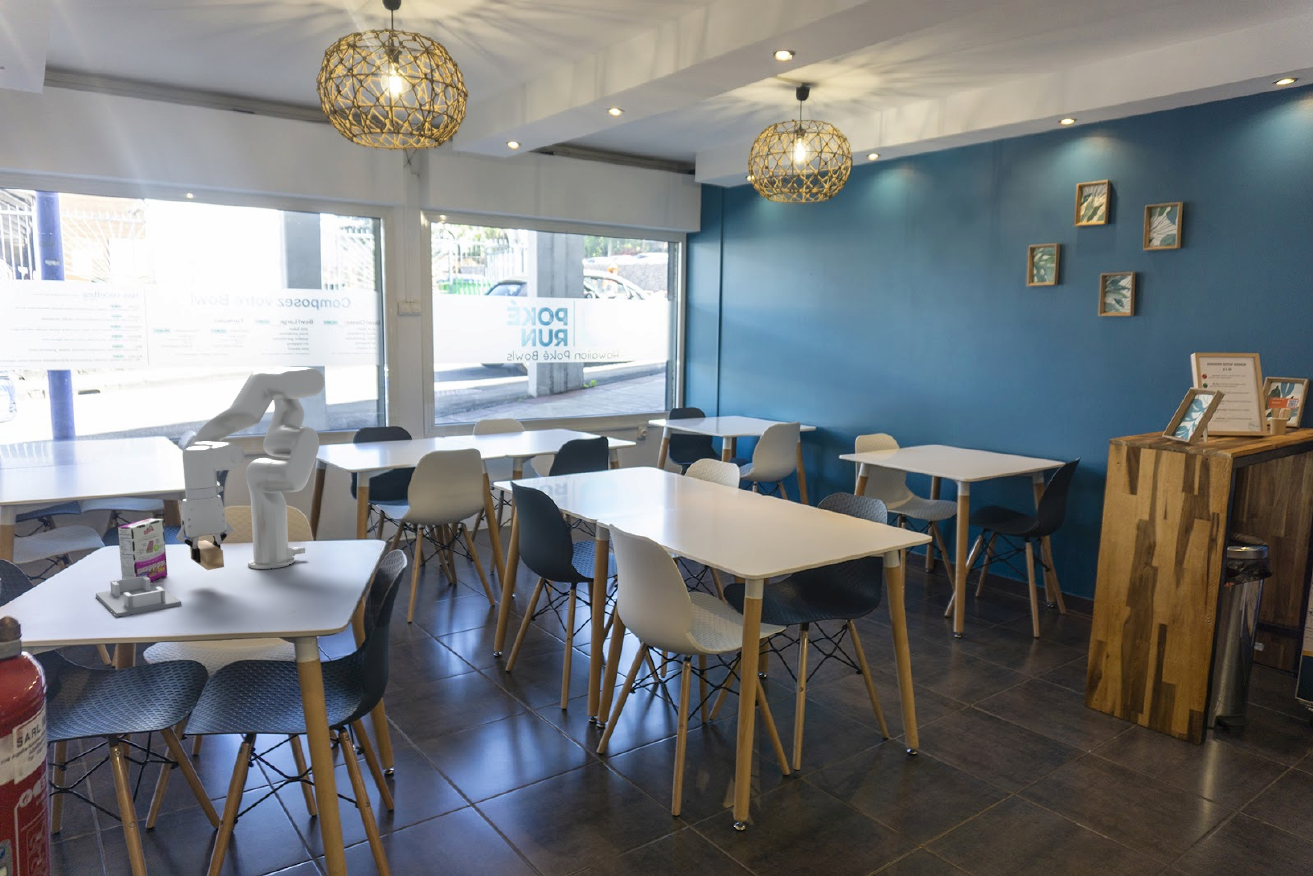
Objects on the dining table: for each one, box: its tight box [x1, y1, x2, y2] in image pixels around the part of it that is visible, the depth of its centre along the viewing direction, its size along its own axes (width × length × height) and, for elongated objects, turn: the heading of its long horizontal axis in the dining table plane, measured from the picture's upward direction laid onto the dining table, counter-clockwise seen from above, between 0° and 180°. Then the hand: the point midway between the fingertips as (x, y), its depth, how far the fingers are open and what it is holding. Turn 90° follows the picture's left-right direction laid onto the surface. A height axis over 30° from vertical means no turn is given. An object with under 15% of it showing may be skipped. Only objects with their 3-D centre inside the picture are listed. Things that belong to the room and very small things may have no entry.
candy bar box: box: [117, 518, 168, 583], centre depth 234 cm, size 11×5×16 cm, turn 168°
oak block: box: [189, 539, 225, 571], centre depth 228 cm, size 4×14×4 cm, turn 44°
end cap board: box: [95, 576, 182, 618], centre depth 217 cm, size 14×22×4 cm, turn 44°
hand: (207, 559), depth 228 cm, fingers closed on oak block, 4 cm apart
